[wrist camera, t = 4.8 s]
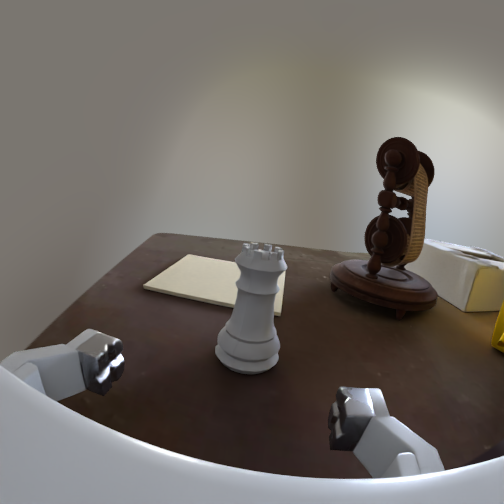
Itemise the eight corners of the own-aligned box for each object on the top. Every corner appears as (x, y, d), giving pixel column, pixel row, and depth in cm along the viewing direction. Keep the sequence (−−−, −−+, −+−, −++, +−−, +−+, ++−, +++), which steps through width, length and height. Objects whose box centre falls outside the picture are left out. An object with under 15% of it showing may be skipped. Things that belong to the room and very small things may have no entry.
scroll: (410, 335, 26) (451, 133, 21) (304, 287, 36) (330, 125, 32) (442, 305, 35) (471, 166, 30) (361, 274, 46) (383, 152, 41)
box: (465, 315, 32) (543, 308, 37) (481, 262, 31) (553, 273, 35) (387, 269, 55) (478, 277, 59) (395, 230, 53) (485, 248, 58)
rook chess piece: (260, 386, 17) (283, 263, 15) (201, 359, 19) (211, 244, 17) (287, 355, 21) (309, 250, 19) (235, 335, 23) (249, 236, 21)
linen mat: (143, 288, 29) (143, 284, 29) (188, 256, 42) (188, 254, 42) (280, 316, 27) (280, 312, 27) (285, 273, 41) (285, 271, 41)
